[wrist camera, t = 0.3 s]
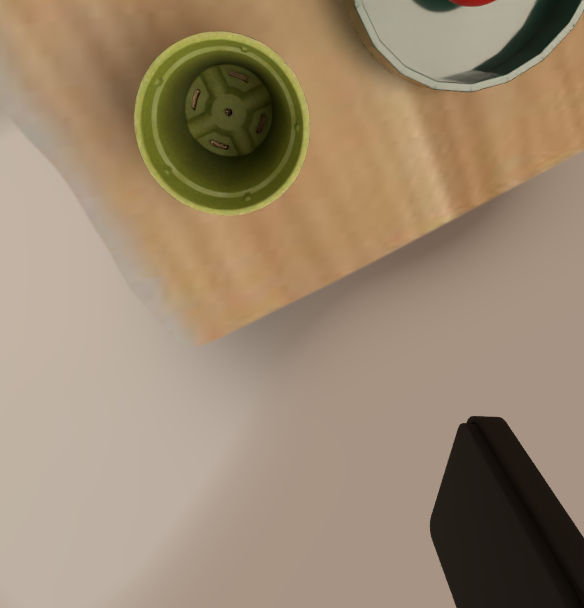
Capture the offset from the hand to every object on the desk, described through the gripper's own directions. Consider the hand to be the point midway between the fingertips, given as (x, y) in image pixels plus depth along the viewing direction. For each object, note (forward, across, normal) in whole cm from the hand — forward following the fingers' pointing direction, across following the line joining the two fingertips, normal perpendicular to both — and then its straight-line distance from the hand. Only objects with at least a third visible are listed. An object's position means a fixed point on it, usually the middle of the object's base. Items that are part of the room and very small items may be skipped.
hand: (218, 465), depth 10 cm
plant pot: (+30, +1, -3) cm, 30 cm away
